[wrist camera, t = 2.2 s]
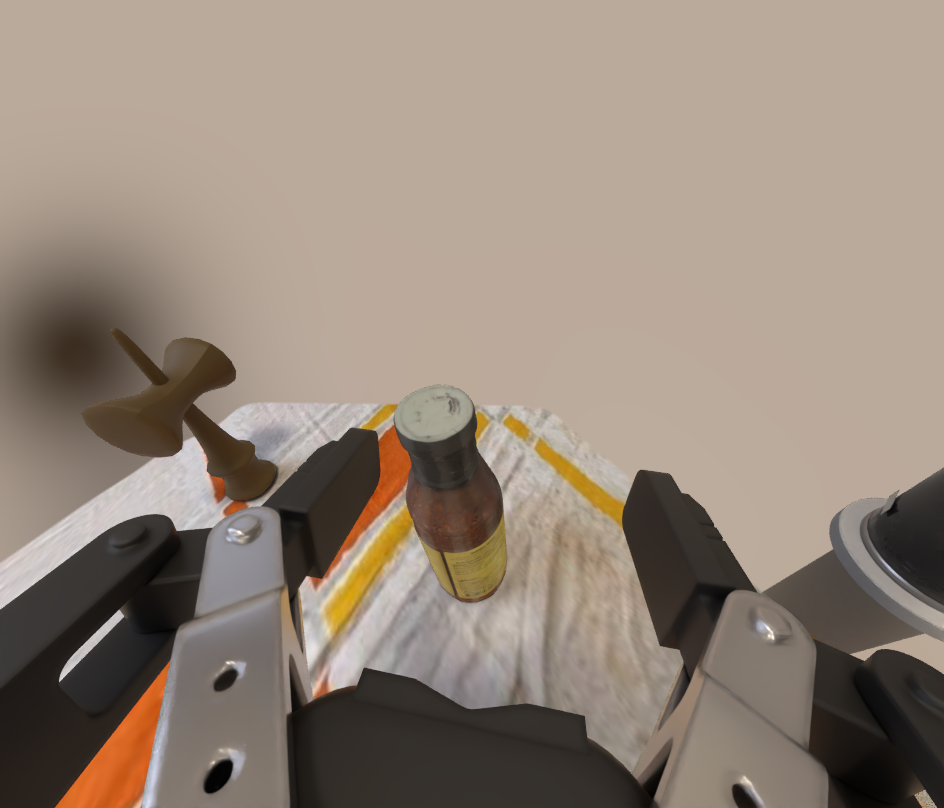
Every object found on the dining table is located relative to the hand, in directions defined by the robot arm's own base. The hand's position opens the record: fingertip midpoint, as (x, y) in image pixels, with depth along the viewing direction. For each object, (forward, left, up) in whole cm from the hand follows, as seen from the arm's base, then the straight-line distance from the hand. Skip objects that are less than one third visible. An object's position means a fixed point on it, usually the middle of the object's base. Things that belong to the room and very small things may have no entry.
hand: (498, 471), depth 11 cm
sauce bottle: (+1, -6, -23) cm, 23 cm away
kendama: (+23, -20, -23) cm, 38 cm away
